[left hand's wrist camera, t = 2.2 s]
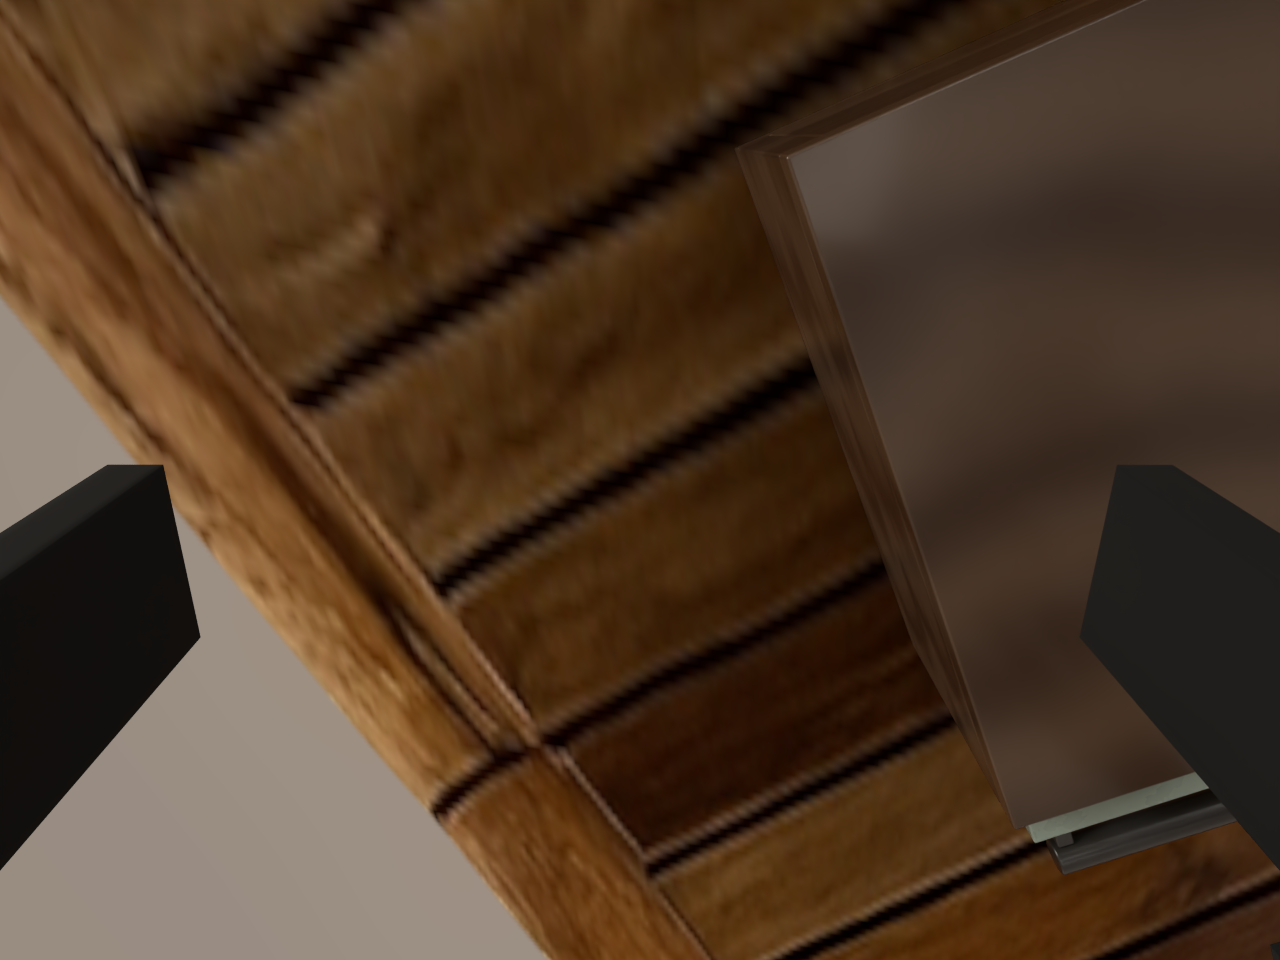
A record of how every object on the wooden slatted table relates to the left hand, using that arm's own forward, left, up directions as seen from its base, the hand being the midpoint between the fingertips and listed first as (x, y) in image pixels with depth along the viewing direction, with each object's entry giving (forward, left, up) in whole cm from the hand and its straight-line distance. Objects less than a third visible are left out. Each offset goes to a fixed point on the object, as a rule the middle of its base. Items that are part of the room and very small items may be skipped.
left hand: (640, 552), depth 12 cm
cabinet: (-9, +9, -20) cm, 23 cm away
